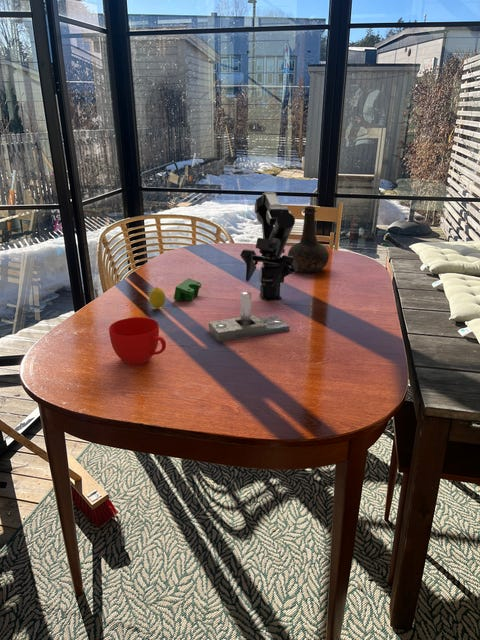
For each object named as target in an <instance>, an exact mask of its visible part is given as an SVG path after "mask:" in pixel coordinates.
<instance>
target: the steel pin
mask: <svg viewBox="0 0 480 640" xmlns="http://www.w3.org/2000/svg"><path fill="white" fill-rule="evenodd" d="M239 311H240V315H239V317H240V326H247V325H251V316H252V292H250V291H241V292H240V310H239Z"/></svg>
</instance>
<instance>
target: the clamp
mask: <svg viewBox="0 0 480 640" xmlns="http://www.w3.org/2000/svg"><path fill="white" fill-rule="evenodd" d="M201 288H202V282H201V281H197V280H195V279H192V278H186V280H184V281H182V282H181V283H179V284H178V285H176V286H175V290H174V294H173V295H174V296H173V300H174V301H177V302H180V300H181V301H182V300H183V299H185V300H187V301H190V302H192V301H193V298H194V297H196V298H197V297H199V292H200V289H201Z"/></svg>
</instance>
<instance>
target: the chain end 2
mask: <svg viewBox="0 0 480 640" xmlns="http://www.w3.org/2000/svg"><path fill="white" fill-rule="evenodd" d="M259 319H260V320H261V321H262V322H263V323H264V324H266V330H261V331H255V332H249V333H242V334H236V339H235V340H238V339H239V338H240V339H245V337H246V338H252V337H257V336H263V335H271V334H276V333H281V332H282V333H283V332H288V331H290V325H289V324H288V323H286V322H285V321H284V320H282V319H281V318H280V317H279V316H277V315H275V316H270V317H269V316H268V317H263V318H259ZM239 325H240V324H239ZM251 325H252V324H251Z"/></svg>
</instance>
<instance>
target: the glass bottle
mask: <svg viewBox="0 0 480 640" xmlns="http://www.w3.org/2000/svg"><path fill="white" fill-rule="evenodd" d="M316 212H317V210H316V207H315V206H310V205H308V206H307V205H306V206H305V207H304V210H303V211H302V213H303V214H304V218H303V226H302V233H301V238H300V241H299V242H297V243H295V244H292V246H291V247H289V250H288V251H287V252H288V253H287V256H293V257H294V258H295V260H296V262H297V264H298V269H297V272H300V273H305V274H311V273H318V272H320V271H322V270H323V269H324V268H325V267H326V265H327V264H328V262H329V258H330V254H329V251H328V249H327V248H326V247H325V245H323V244H322V243H319V242H318V240H317V235H316V234H317V233H316V221H315V220H316V219H315V218H316Z"/></svg>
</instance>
